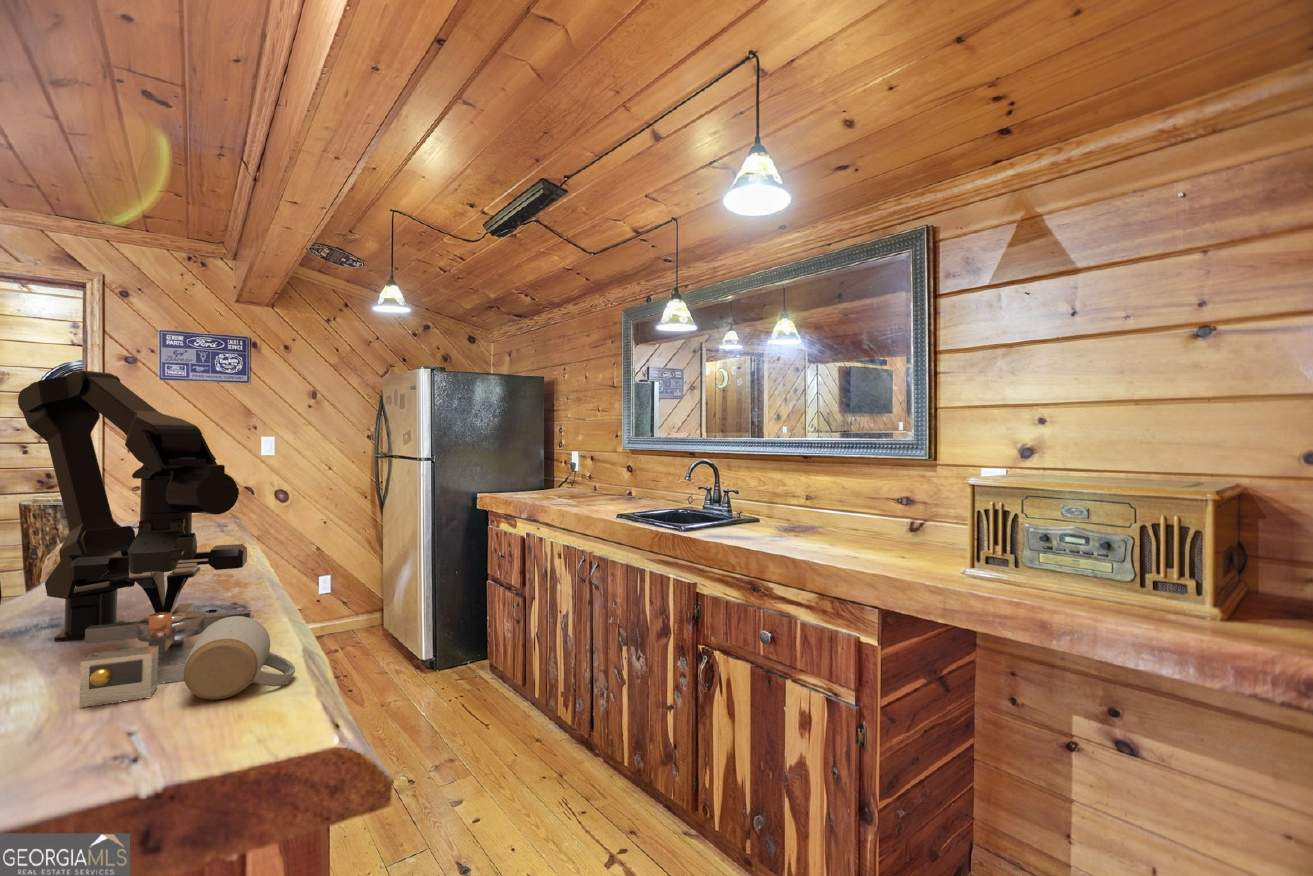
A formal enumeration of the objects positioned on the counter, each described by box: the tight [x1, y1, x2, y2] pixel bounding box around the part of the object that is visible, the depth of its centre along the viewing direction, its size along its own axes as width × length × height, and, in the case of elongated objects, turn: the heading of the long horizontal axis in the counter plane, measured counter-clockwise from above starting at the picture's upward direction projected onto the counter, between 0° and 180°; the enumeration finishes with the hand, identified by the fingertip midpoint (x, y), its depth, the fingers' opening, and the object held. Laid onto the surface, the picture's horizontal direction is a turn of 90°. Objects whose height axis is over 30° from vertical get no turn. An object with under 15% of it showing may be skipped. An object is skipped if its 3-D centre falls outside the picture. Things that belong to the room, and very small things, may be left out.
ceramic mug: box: [183, 616, 296, 701], centre depth 71 cm, size 11×8×8 cm
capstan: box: [84, 602, 252, 653], centre depth 79 cm, size 17×17×4 cm
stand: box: [78, 633, 202, 709], centre depth 77 cm, size 24×12×5 cm, turn 29°
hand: (164, 621), depth 85 cm, fingers closed
